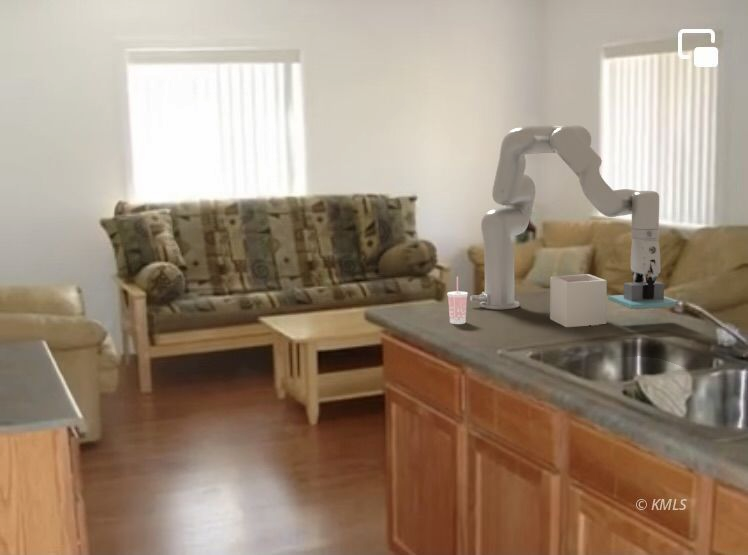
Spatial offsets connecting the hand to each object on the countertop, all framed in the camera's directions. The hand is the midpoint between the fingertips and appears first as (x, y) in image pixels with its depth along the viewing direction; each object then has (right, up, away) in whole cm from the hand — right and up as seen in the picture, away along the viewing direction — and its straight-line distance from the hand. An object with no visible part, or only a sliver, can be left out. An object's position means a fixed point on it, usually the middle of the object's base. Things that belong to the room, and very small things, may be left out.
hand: (643, 296), depth 289 cm
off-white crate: (-17, -8, +8) cm, 21 cm away
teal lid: (0, -3, 0) cm, 3 cm away
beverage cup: (-53, -8, +11) cm, 55 cm away
